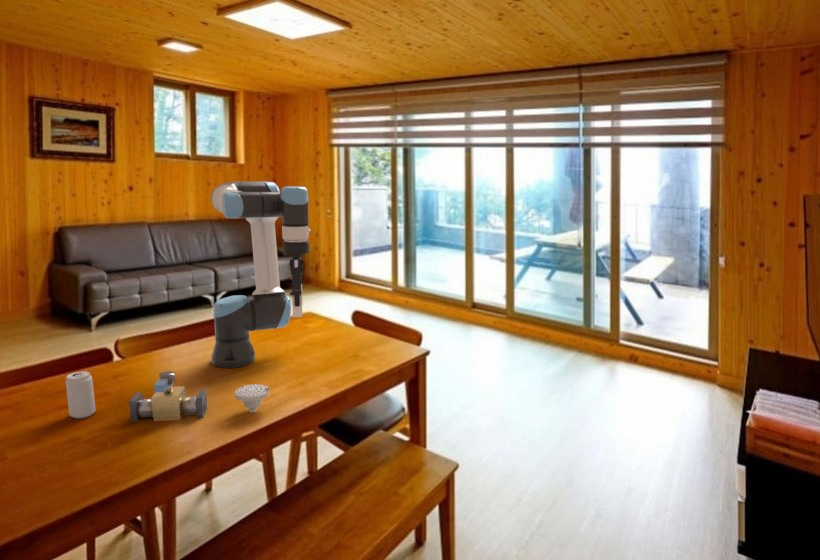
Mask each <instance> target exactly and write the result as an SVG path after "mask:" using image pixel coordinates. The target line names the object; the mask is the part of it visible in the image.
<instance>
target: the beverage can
mask: <svg viewBox="0 0 820 560" xmlns="http://www.w3.org/2000/svg"><path fill="white" fill-rule="evenodd" d="M65 387H66V388H65V389H66V396H67V405H68V414H69V416H70V417H71V418H73V419H77V420H79V419H85V418H88V417H91V416H92V415H93V414H94V413H95V412H96V410H97V409H96V401H95V393H94V391H95V390H94V381H93V376H92V375H91V372H89V371H77V372H72V373H70V374H68V375H66V379H65Z"/></svg>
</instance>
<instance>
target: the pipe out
mask: <svg viewBox="0 0 820 560" xmlns="http://www.w3.org/2000/svg"><path fill="white" fill-rule="evenodd" d="M143 397H144V396H143V392H140V391H139V392H135V394H134V395H133V396H132V397H131V399H130V400H129V402H128V403H129V414H130V422H131V423H132V422H133V423H134V421H135V422H138V421H139V420H140V418H152V417H153V408H152V398H143Z"/></svg>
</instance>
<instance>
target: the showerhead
mask: <svg viewBox="0 0 820 560" xmlns="http://www.w3.org/2000/svg"><path fill="white" fill-rule="evenodd" d="M270 390H271V387H270V386H267V385H263V384H259V383H258V384H256V383H254V384H251V383H250V384H245V385H243V386H241V387H239V388H237V389H236V390H235V391H234V398H235V399H236V400H237V401H240V402H243V406H244V407H245V408H247V409H248V412H249V413H256V412H257V411H258V410H257V408H258V407H259V406H261V405H262V400H263V399H266V398H268V396H269V395H270Z"/></svg>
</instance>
